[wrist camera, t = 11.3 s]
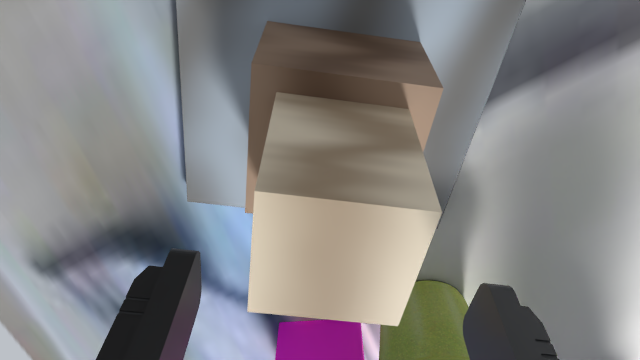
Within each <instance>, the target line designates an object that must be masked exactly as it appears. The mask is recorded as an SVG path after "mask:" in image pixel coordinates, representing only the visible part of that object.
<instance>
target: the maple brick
mask: <svg viewBox="0 0 640 360" xmlns="http://www.w3.org/2000/svg"><path fill="white" fill-rule="evenodd" d="M441 214H442V210H441V207H440V204H439V201H438V198H437V195H436V191H435V188H434V185H433V182H432V179H431V176H430V173H429V170H428V166H427V163H426V160H425V157H424V154H423V151H422V148H421V145H420V141H419V138H418V135H417V132H416V129H415V126H414V123H413V120H412V117H411V113H410V110H409V109H404V108H397V107H389V106H381V105H373V104H366V103H358V102H350V101H342V100H335V99H327V98H319V97H311V96H304V95H296V94H288V93H280V92H276V97H275V101H274V106H273V110H272V115H271V119H270V124H269V128H268V133H267V137H266V142H265V146H264V151H263V155H262V160H261V164H260V169H259V173H258V177H257V182H256V186H255V191H254V208H253V225H252V243H251V260H250V278H249V295H248V312H255V313H266V314H276V315H286V316H297V317H307V318H317V319H328V320H338V321H349V322H359V323H369V324H380V325H390V326H398V325H399V323H400V320H401V318H402V315H403V312H404V310H405V307H406V305H407V302H408V299H409V297H410V294H411V292H412V289H413V287H414V284H415V281H416V279H417V276H418V274H419V271H420V269H421V266H422V263H423V261H424V258H425V256H426V253H427V250H428V248H429V245H430V243H431V240H432V238H433V235H434V232H435V230H436V227H437V225H438V222H439V220H440V217H441Z"/></svg>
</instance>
